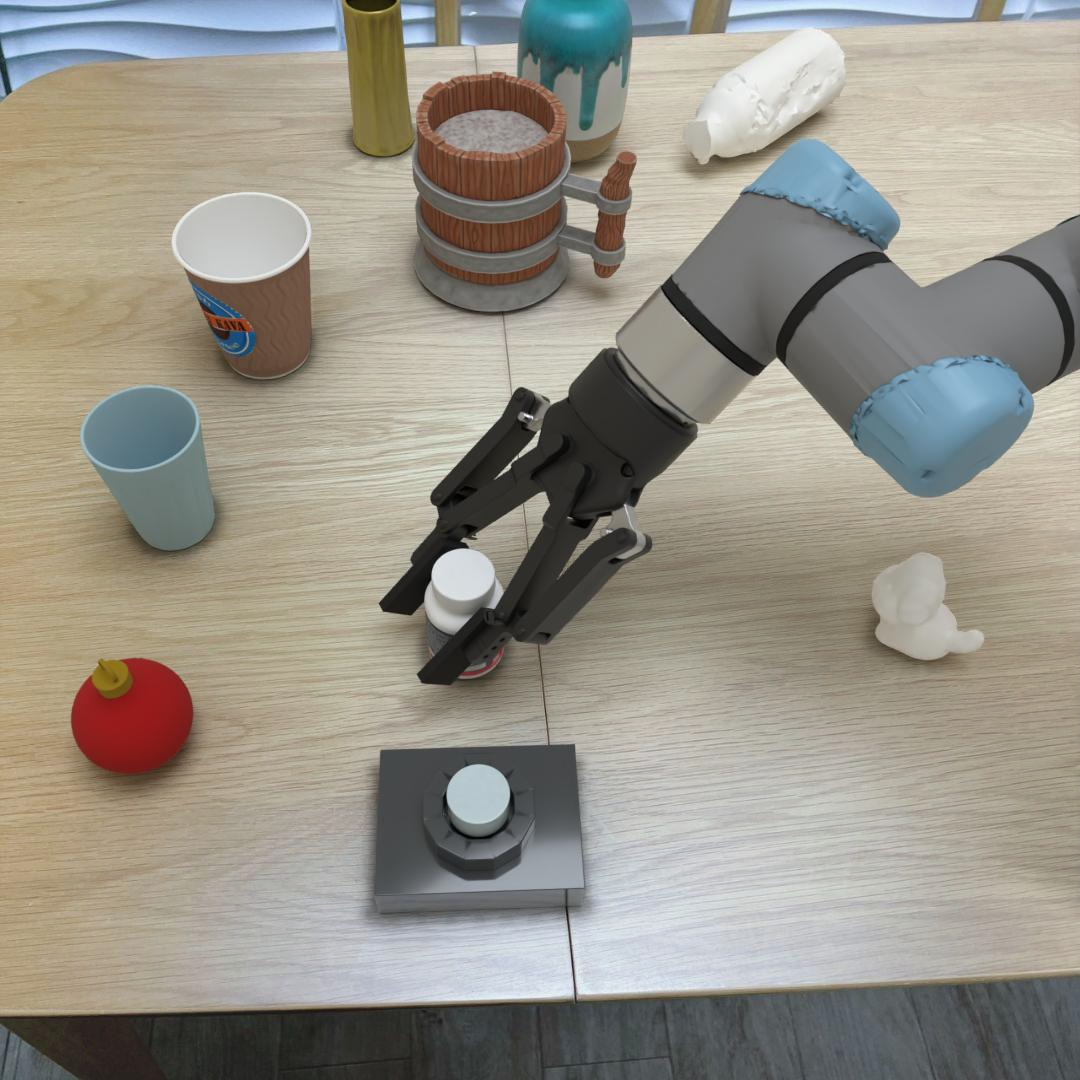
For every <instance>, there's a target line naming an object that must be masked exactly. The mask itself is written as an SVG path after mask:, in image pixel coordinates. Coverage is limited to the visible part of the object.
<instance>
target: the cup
mask: <svg viewBox="0 0 1080 1080" xmlns="http://www.w3.org/2000/svg"><path fill="white" fill-rule="evenodd" d="M199 413H200V412H199V409H198V407H197V406H196V404H195V403H194V402H193V400H192V399H191V398H190V397H189V396H188V395H186V394H185V393H184V392H181V391H179V390H177V389H175V388H172V387H168V386H165V385H157V384H156V385H155V384H143V385H137V386H132V387H127V388H124V389H121V390H119V391H116V392H114V393H112V394H109V395H108V396H107V397H105V398H103V399H102V400H101V401H99V402H98V403H96V404H95V405H94V406H93V407H92V409H90V411H89V412H88V414H87V415H86V416H85V418H84V419H83V421H82V424H81V427H80V432H79V443H80V446H81V448H82V449H81V450H82V451H83V453H84V455H85V456H86V457H87V459H88V460H89V462H90V463H91V465H92V466H93V468H94V470H95V471H96V473H97V474H98V475H99V476H100V478H101V479H102V481H103V482H104V484H105V485H106V487H107V488H108V490H109V491H110V493H111V494H112V496H113V497H114V499H115V500H116V502H117V503H118V505H119V506H120V508H121V509H122V511H123V512H124V514H125V515H126V517H127V518H128V520H129V521H130V523H131V524H132V526H133V527H134V528H135V530H136V531H137V533H138V535H139V536H140V537H141V538H142V540H143V541H145V542H146V543H147V544H148V545H149V546H151V547H152V548H155V549H158V550H162V551H168V552H170V551H181V550H185V549H187V548H190V547H192V546H194V545H196V544H198V543H200V542H201V541H202V540H203V539H204V538H205V537H206V536H207V535H208V534H209V533H210V532H211V530H212V528H213V526H214V522H215V518H216V513H215V507H214V501H213V500H214V499H213V493H212V488H211V487H212V486H211V482H210V476H209V475H210V474H209V468H208V463H207V457H206V451H205V445H204V436H203V430H202V423H201V417H200V414H199Z"/></svg>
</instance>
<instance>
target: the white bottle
mask: <svg viewBox="0 0 1080 1080" xmlns="http://www.w3.org/2000/svg"><path fill="white" fill-rule="evenodd" d="M845 58H846V53H845V51H844V50H842V48H841V46H840V44H839V43H838V42H837V40H835V38H833V37H832V35H831V34H829V33H827V32H825V31H823V30H822V28H819V29H817V28H814V27H812V26H810V27H802V28H799V29H796V30H794V31H792V33H790V34H788V35H787V36H786V37H784V38H783V39H781V40H780V41H778V42H776V43H774V44H773V45H772V46H769V47H768V48H766V49H764V50H763V51H761V52H759V53H758V54H755V56H753V57H751V58H749V59H748V60H746V61H744V62H743V63H741V64H739V65H737V66H736V67H734V68H733V69H731V70H730V71H728V72H726V73H724V74H723V75H721V76H720V77H719V78H718V79H717V80H716V81H715V82H713V85H712V88H711V89H710V90H708V91H707V92H706V93H705V95H704V96H703V97H702V98H701V100H700V102H699V103H698V106H697V107H696V110H695V117H694V118H695V119H694V120H691V121H690V122H689V123H688V124H687V125H685V126H683V127H682V128H683V130H682V131H683V133H682V140H683V143H684V146H685V148H686V150H688V151H689V152H690V153H692V154H693V157H694V158H695V159H697V164H700V165H705V164H708V163H709V161H710V158H711V157H712V156H714V155H716V156H718V157H720V158H732V157H733V158H734V157H738V156H741V155H744V154H745V155H747V154H751V153H756V152H758V151H760V150H763V149H764V148H765V147H767V146H769V145H770V144H772V143H774V142H775V141H776V140H778V139H780V138H781V137H782V136H784V135H786V134H787V133H788V132H790V131H792V130H793V129H794V128H796V127H797V126H798V125H801V124H802V123H804V122H805V121H806V120H808V119H809V118H810V117H812V116H814V115H815V114H816V113H818V112H819V111H821V110H822V109H823V108H824V107H827V106H829V105H831V104H833V102H835V101H836V99H838V98H840V96H841V93H842V91H843V89H844V88H845V87H846V86H847V85H848V84H847V83H846V78H847V73H848V72H847V69H846V67H845Z"/></svg>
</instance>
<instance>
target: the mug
mask: <svg viewBox="0 0 1080 1080" xmlns="http://www.w3.org/2000/svg"><path fill="white" fill-rule="evenodd" d="M415 122H416V123H415V124H416V125H415V126H416V137H417V138H416V140H415V142H413V146H412V150H411V166H412V180H413V183H414V186H415V188H416V191H417V192H418V195H417V197H416V199H415V200H416V202H415V204H414V205H415V206H414V209H415V210H414V211H415V222H416V223H415V224H416V232H417V235H418V238H419V240H418V241H417V243H416V245H415V246H414V252H413V256H412V257H413V268H414V270H415V272H416V275H417V277H418V279H419V281H420V282H421V284H423V285H424V287H425V288H427V289H428V290H429V291H430V292H431V293H432V294H433V295H435V296H436V297H438V298H440V299H441V300H443V301H445V302H446V303H448V304H451V305H454V306H457V307H459V308H462V309H466V310H470V311H475V312H484V313H505V312H511V311H514V310H520V309H523V308H525V307H528V306H531V305H534V304H536V303H538V302H540V301H542V300H544V299H545V298H547V297H548V296H550V295H551V294H552V293H553V292H555V291H557V289H559V287H560V285H561V284H562V283H563V282H564V280H565V279H566V276H567V275H568V271H569V269H570V260H571V259H570V258H571V257H570V254H569V250H571V251H575V252H578V253H582V254H585V255H589V256H591V258H592V260H593V269H594V273H595V274H594V275H596V277H598V278H600V279H609V278H611V277H612V276H613V275H614V274H615V273H616V272H617V271H618V269H619V268H620V267H621V264H622V262H623V261H624V260H625V256H626V248H627V247H626V246H627V242H626V239H625V237H624V234H625V233H624V232H625V228H626V220H627V219H626V217H627V214H628V211H630V209H631V206H632V199H633V189H632V187H631V186H630V181H631V179H632V176H633V173H634V170H635V168H636V166H637V161H638V157H637V155H636V154H635V153H634V152H632V151H628V150H623V151H620V152H618V153H617V155H616V160H615V161H614V162H613V163H612V165H611V166H610V167H609V168H608V169H607V174H606V175H605V176H604V177H603V178H602V179H601V181H600V180H596V179H593V178H588V177H586V176H582V175H578V174H574V173H571V163H572V162H571V154H570V150H569V147H568V145H567V143H566V141H565V138H566V124H567V117H566V112H565V109H564V107H563V105H562V104H561V102H560V100H559V99H558V98H557V97H556V96H555V95H554V94H553V93H552V92H551V91H549V90H548V89H547V88H545V87H544V86H542V85H540V84H537V83H535V82H532V81H529V80H526V79H523V78H520V77H517V76H515V75H514V76H513V75H510V74H509V75H508V74H507V72H506V71H497V70H496V71H494V70H492V71H491V73H478V74H471V75H465V74H462V75H458V76H454V77H451V78H450V80H448V81H445V82H442V81H438V82H436V83H435V84H434V85H432V86H430V87H429V88H428V89H427V90H426V91H424V93H423V94H422V98H421V100H420V102H419V104H418V105H417V109H416V112H415ZM566 197H567V198H569V199H573V200H577V201H580V202H584V203H588V204H593V205H595V206H596V208H597V209H598V211H597V218H598V220H597V223H596V228H595V231H591V230H588V229H585V228H580V227H577V226H573V225H569V224H567V223H568V210H569V209H568V203H567V199H566Z"/></svg>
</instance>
